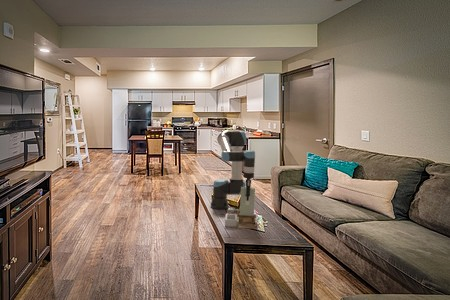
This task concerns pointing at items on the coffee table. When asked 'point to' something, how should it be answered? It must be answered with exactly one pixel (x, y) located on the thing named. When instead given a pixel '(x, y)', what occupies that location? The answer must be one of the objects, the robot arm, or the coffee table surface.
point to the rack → (239, 217)
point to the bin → (231, 220)
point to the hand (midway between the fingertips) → (247, 204)
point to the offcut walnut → (246, 222)
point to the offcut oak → (246, 219)
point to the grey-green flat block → (245, 209)
